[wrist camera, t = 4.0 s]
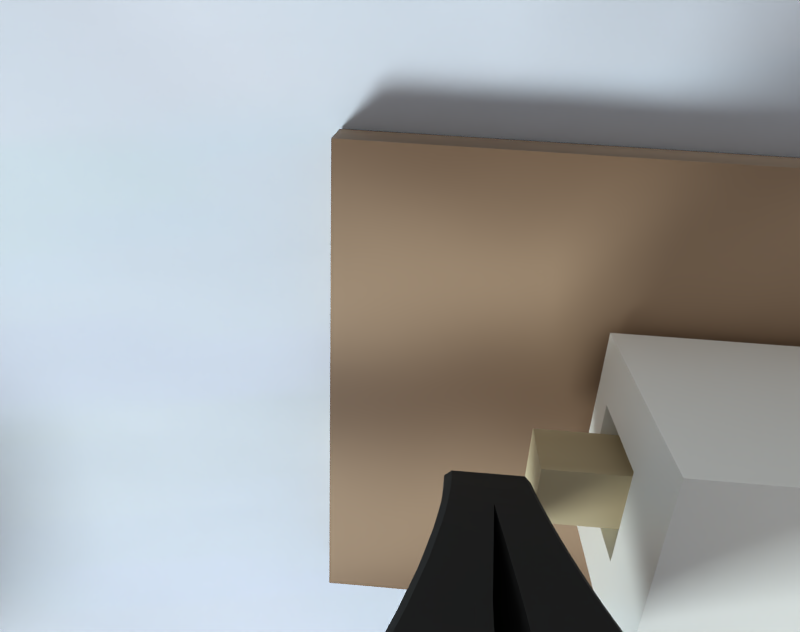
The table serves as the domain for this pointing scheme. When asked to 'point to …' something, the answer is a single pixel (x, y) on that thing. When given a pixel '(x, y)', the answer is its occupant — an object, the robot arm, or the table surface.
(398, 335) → the board
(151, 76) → the table surface
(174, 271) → the table surface
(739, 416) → the sleeve
